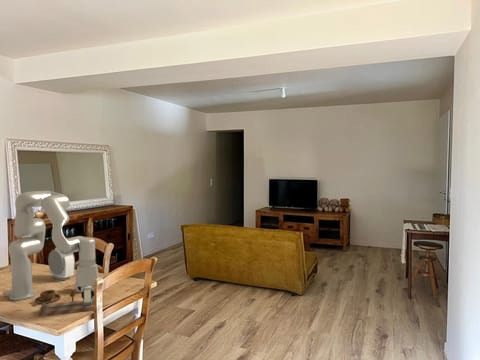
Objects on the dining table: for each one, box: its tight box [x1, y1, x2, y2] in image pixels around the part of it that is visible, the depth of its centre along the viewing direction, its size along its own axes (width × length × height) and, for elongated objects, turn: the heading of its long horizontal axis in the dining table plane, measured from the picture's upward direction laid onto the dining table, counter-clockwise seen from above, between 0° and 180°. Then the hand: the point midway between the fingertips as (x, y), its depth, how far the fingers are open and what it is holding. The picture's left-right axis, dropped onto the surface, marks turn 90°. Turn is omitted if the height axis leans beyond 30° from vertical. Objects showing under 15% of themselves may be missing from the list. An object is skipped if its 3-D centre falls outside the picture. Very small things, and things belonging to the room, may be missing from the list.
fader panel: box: [38, 298, 95, 318], centre depth 175 cm, size 26×10×4 cm, turn 108°
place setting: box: [29, 289, 76, 307], centre depth 184 cm, size 18×20×6 cm
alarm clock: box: [47, 247, 76, 281], centre depth 223 cm, size 18×8×20 cm, turn 59°
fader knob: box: [83, 287, 94, 306], centre depth 177 cm, size 4×7×7 cm, turn 18°
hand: (88, 298), depth 177 cm, fingers closed on fader knob, 3 cm apart
